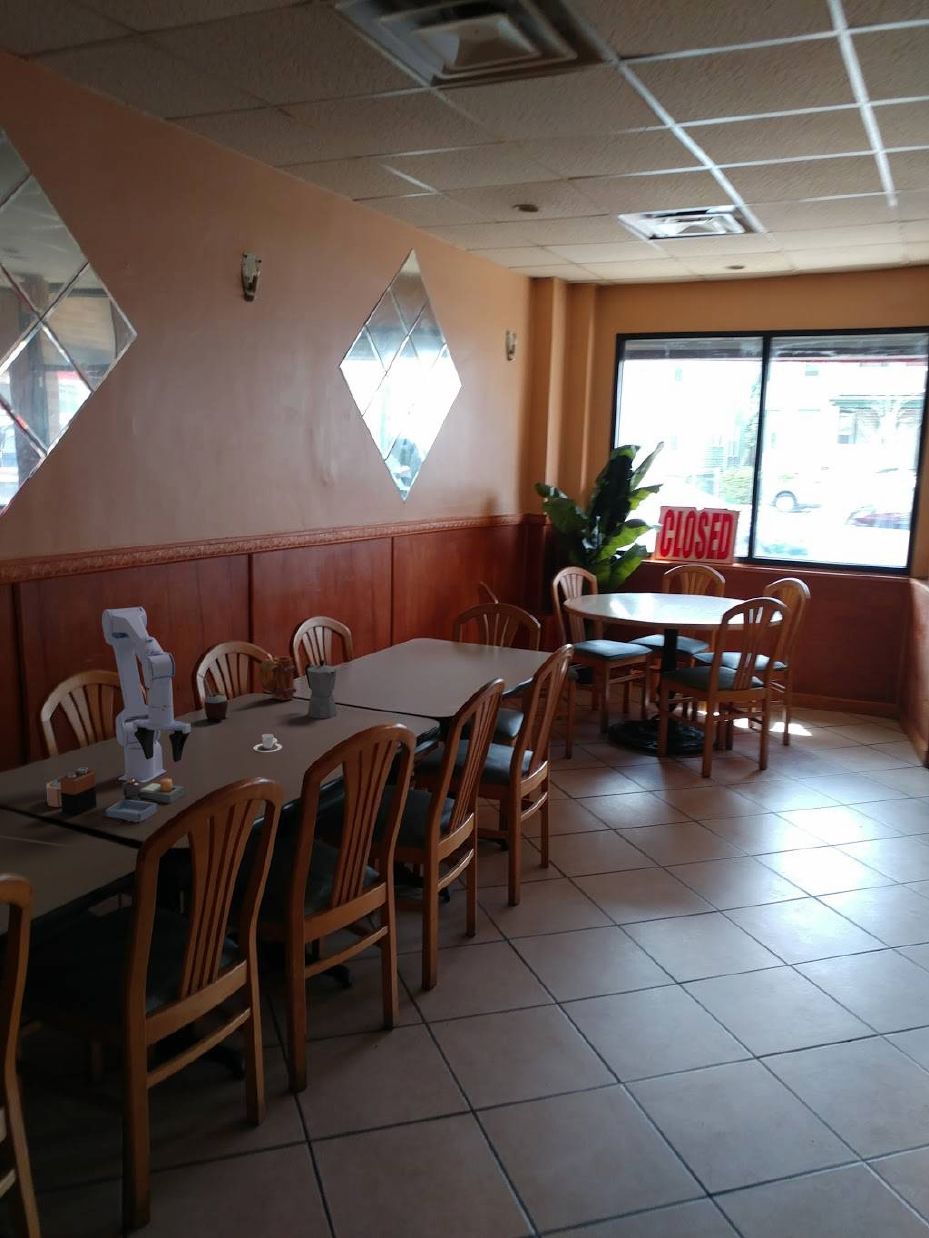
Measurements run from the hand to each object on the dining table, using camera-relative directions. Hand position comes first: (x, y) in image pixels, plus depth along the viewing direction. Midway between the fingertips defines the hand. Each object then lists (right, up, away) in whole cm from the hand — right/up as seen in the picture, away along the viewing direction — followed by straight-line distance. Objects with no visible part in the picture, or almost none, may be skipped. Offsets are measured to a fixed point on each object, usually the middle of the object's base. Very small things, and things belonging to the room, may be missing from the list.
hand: (163, 759), depth 226 cm
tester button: (0, -8, +2) cm, 9 cm away
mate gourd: (-5, +2, +66) cm, 66 cm away
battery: (-17, -11, -7) cm, 22 cm away
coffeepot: (+26, +3, +75) cm, 80 cm away
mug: (+10, +6, +90) cm, 91 cm away
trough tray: (-5, -12, -8) cm, 15 cm away
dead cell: (-23, -10, -2) cm, 25 cm away
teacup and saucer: (+19, -3, +43) cm, 47 cm away
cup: (-23, -10, -2) cm, 25 cm away
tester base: (-2, -10, +3) cm, 10 cm away
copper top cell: (-7, -10, -2) cm, 13 cm away
